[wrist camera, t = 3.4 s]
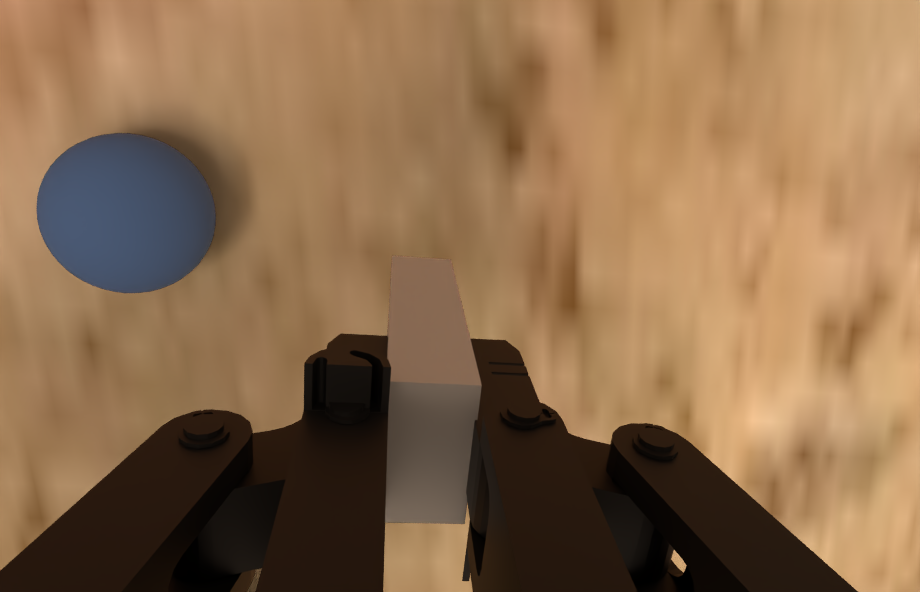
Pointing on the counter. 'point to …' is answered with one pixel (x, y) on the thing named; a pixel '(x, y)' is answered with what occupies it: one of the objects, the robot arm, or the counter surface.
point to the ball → (126, 213)
